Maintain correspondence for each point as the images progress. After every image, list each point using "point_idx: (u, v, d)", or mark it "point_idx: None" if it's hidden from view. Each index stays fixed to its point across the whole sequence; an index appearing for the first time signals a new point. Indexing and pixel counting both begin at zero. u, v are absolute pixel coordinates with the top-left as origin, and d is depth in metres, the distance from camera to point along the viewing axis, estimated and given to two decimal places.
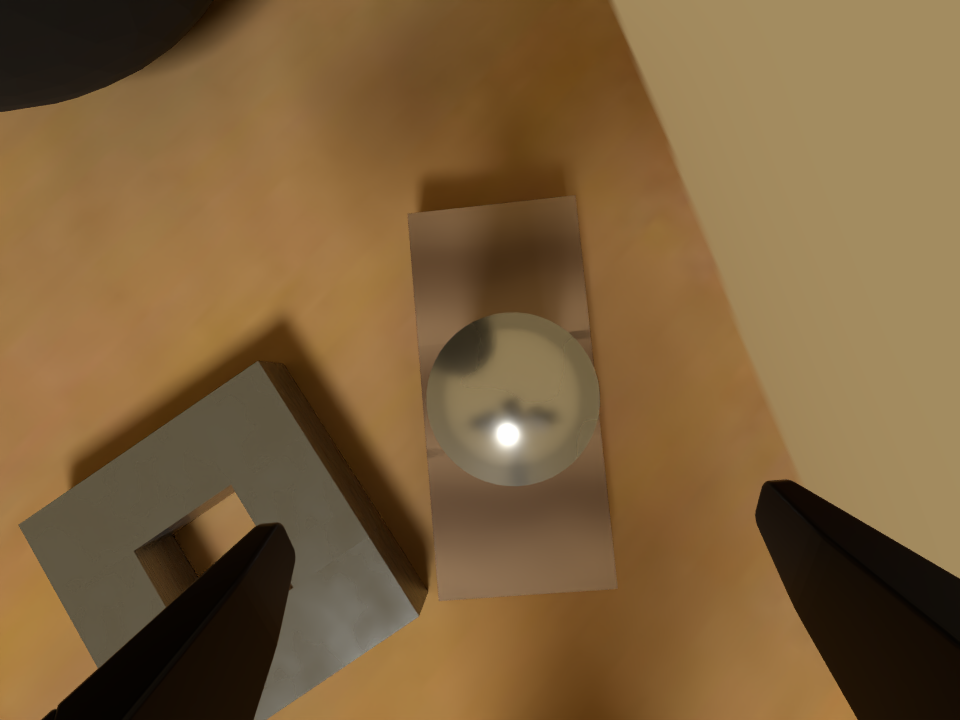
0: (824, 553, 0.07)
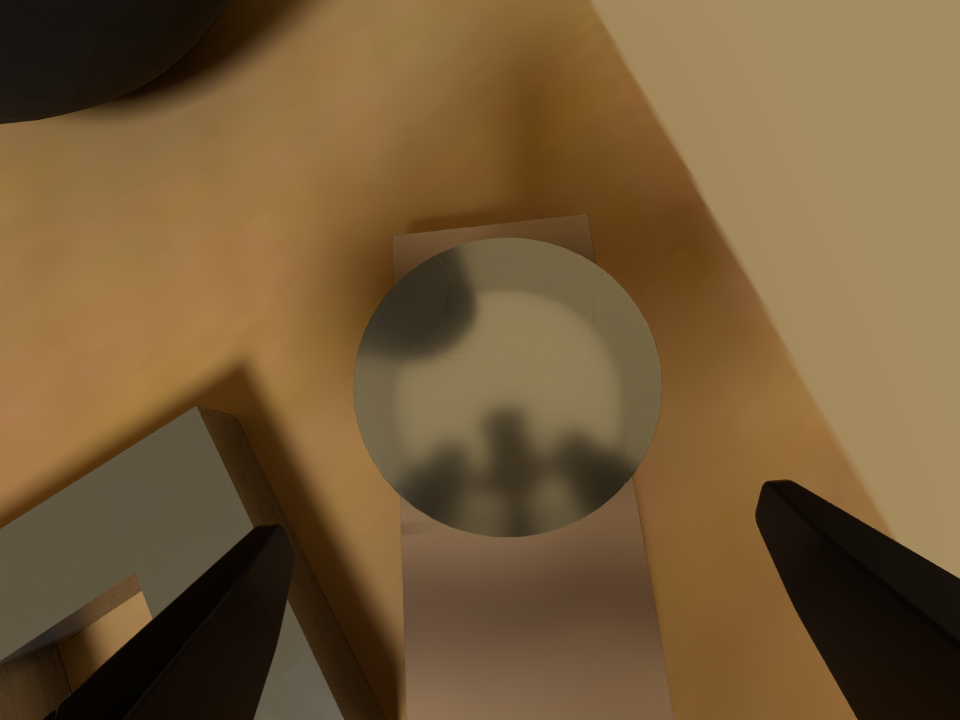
0: (824, 553, 0.07)
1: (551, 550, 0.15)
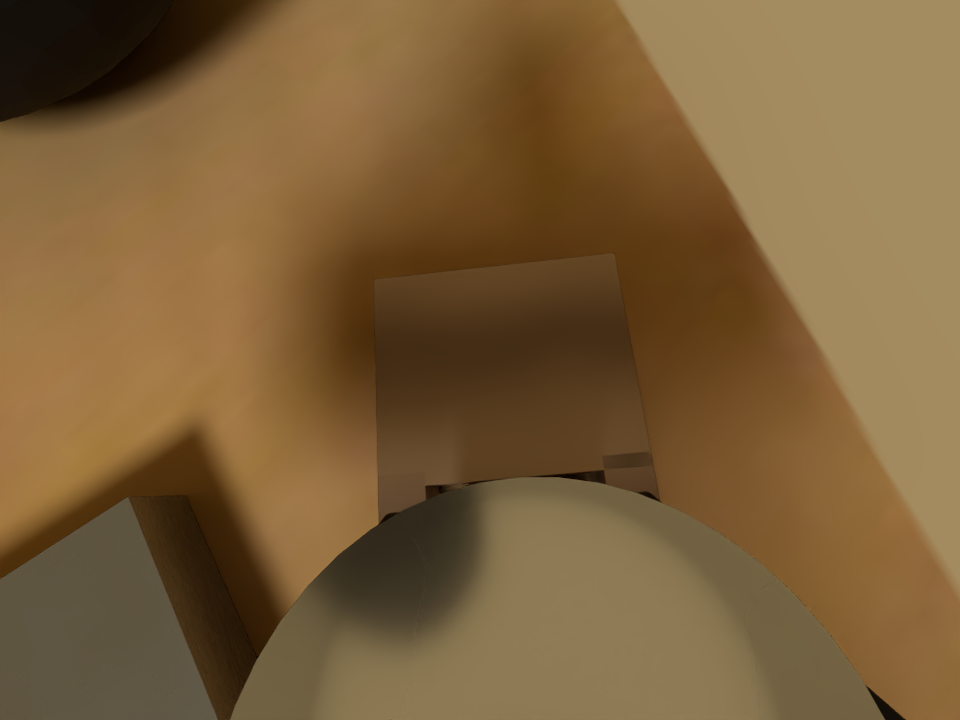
0: None
1: None
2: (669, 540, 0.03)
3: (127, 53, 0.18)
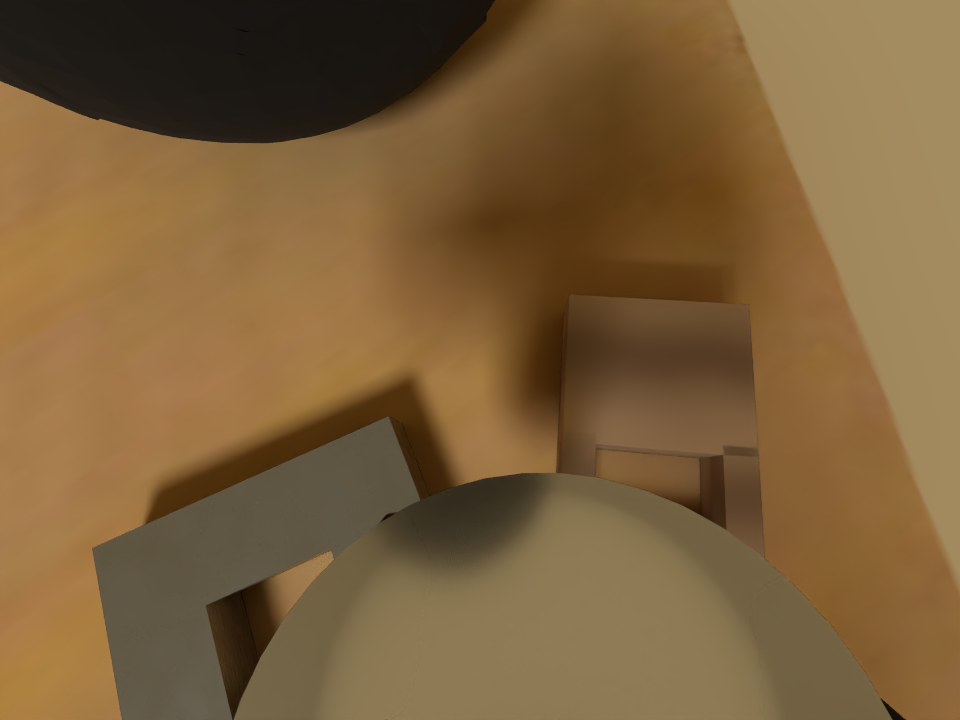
0: None
1: None
2: (673, 536, 0.03)
3: None
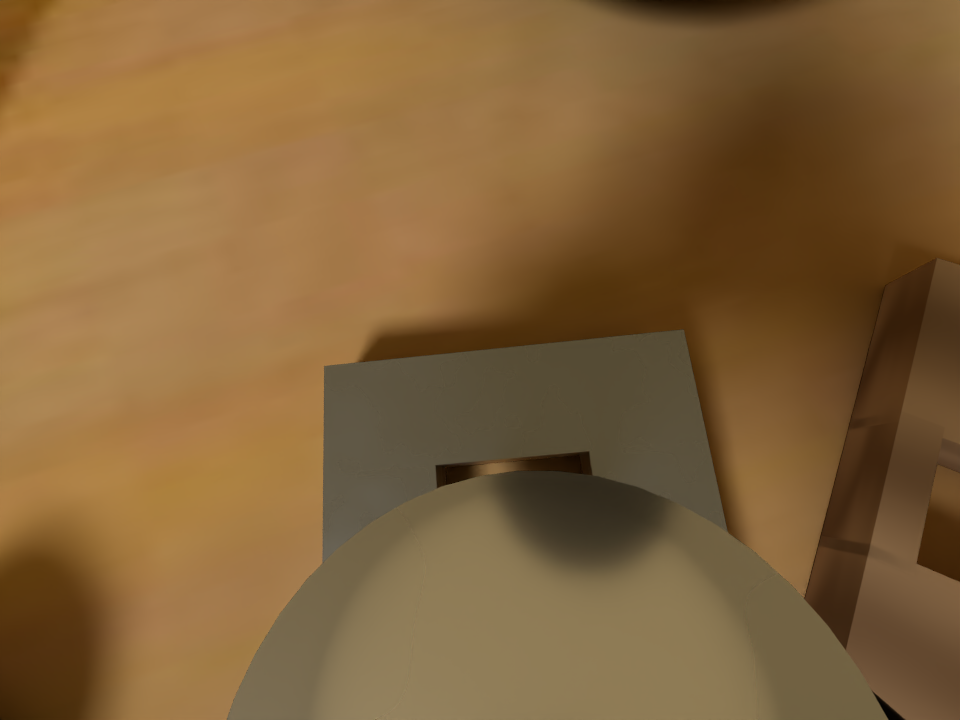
0: None
1: None
2: (668, 533, 0.03)
3: None
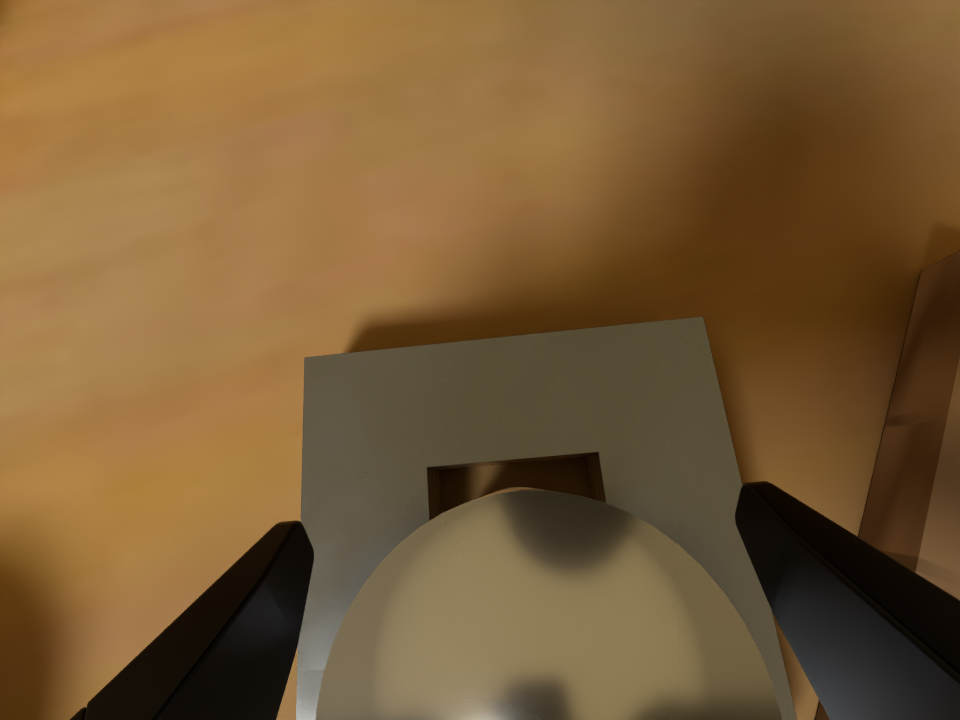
0: (798, 555, 0.07)
1: None
2: (622, 533, 0.04)
3: None
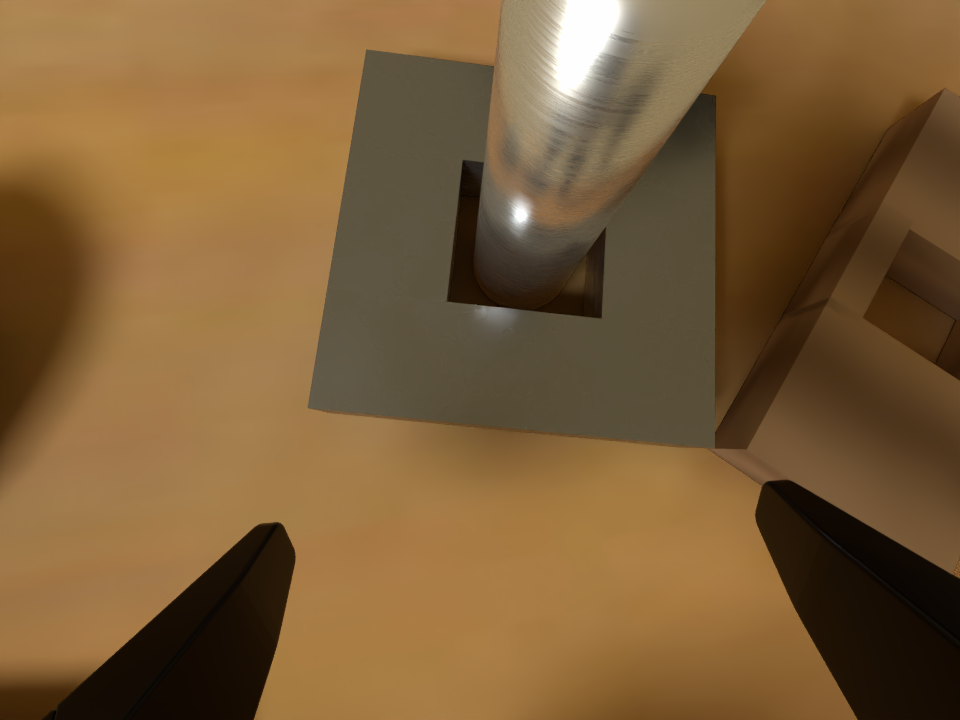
0: (824, 553, 0.07)
1: (933, 400, 0.17)
2: None
3: None
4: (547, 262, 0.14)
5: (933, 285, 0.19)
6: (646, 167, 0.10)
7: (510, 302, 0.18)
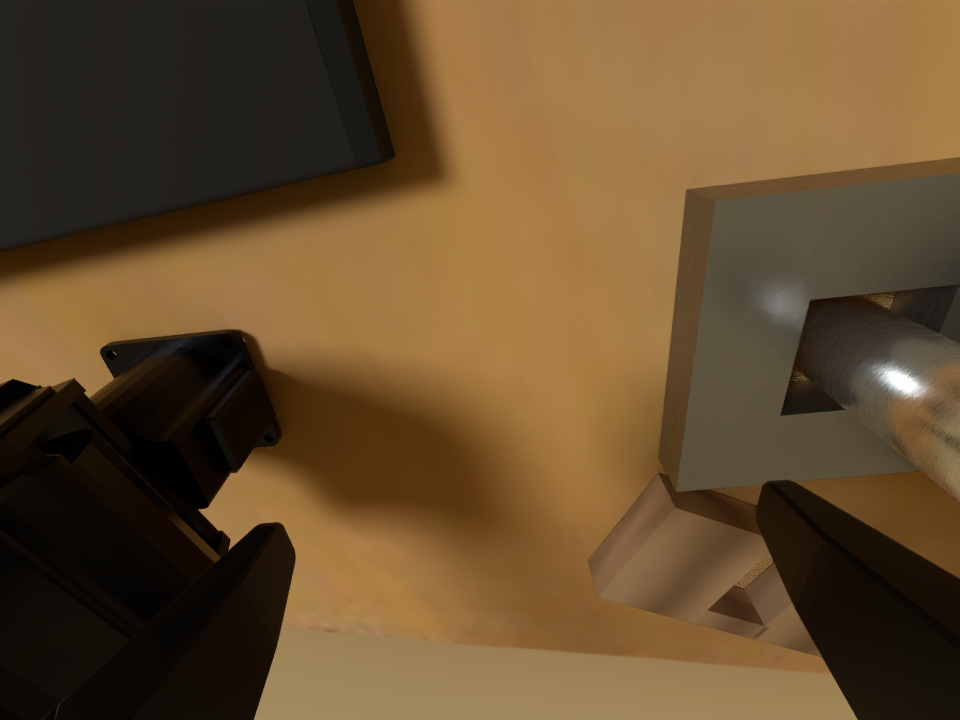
0: (824, 553, 0.07)
1: (706, 590, 0.27)
2: None
3: None
4: (857, 399, 0.17)
5: (774, 581, 0.29)
6: None
7: None
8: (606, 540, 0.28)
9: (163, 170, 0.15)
